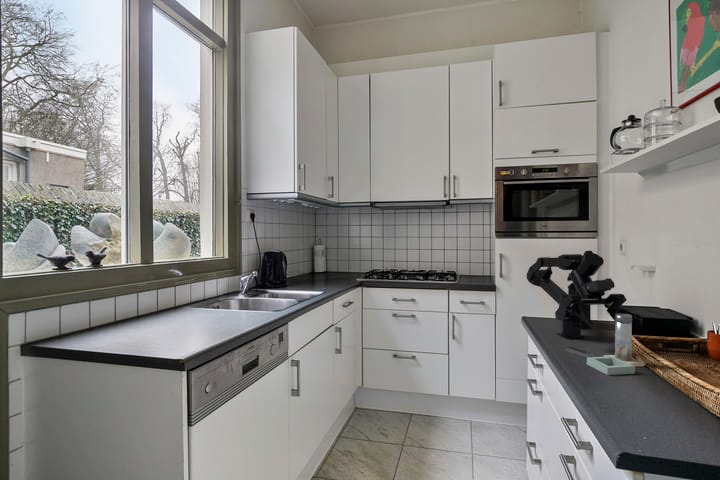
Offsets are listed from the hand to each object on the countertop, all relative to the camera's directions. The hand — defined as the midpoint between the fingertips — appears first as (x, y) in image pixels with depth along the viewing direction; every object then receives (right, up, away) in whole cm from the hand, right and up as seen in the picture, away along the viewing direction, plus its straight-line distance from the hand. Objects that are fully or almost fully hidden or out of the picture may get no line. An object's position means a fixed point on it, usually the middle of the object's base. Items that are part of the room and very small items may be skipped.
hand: (605, 325), depth 118 cm
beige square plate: (0, -9, -7) cm, 12 cm away
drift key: (-8, -9, 0) cm, 12 cm away
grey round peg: (0, -8, -7) cm, 11 cm away
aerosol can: (+10, -8, +32) cm, 34 cm away
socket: (-7, -10, -12) cm, 17 cm away
